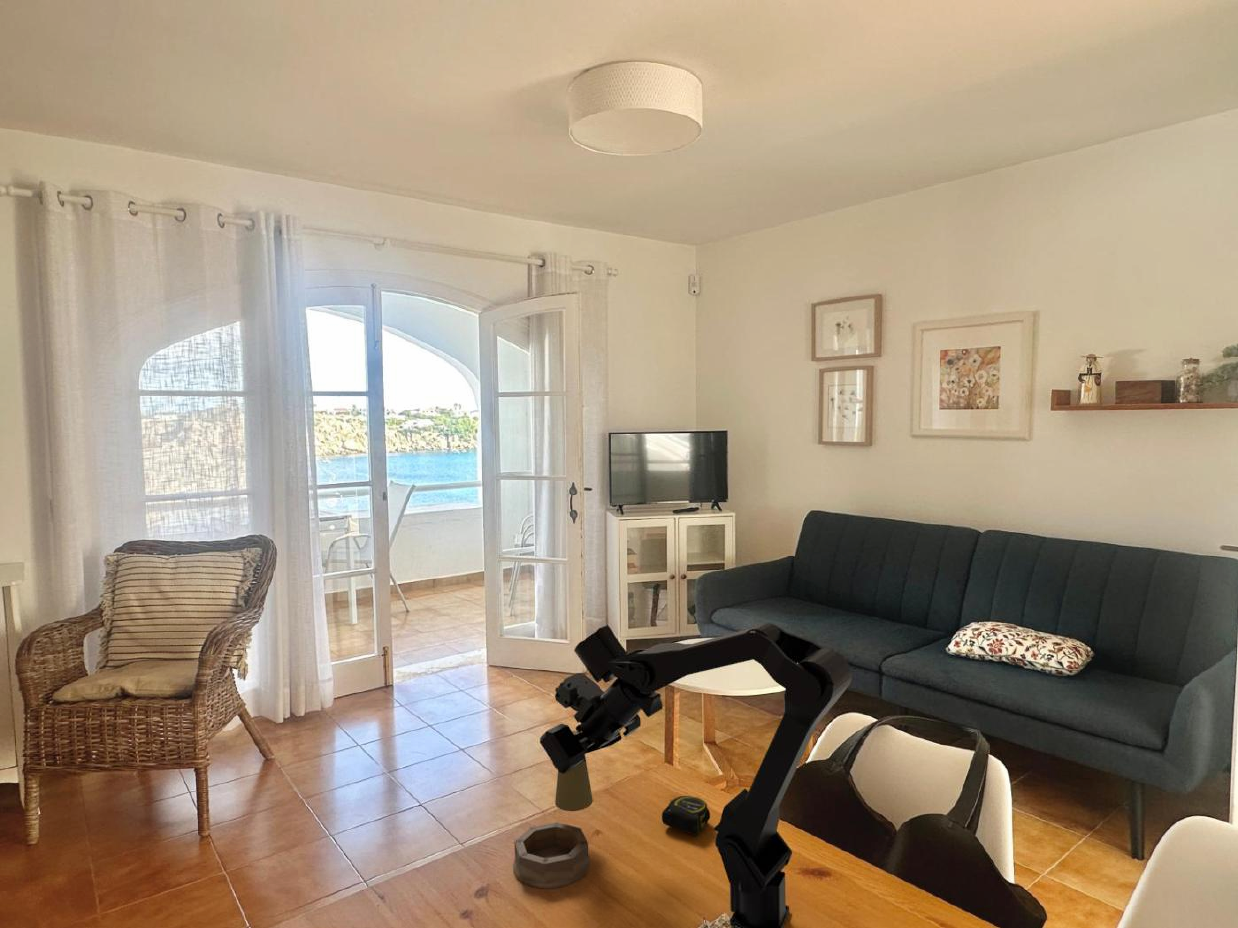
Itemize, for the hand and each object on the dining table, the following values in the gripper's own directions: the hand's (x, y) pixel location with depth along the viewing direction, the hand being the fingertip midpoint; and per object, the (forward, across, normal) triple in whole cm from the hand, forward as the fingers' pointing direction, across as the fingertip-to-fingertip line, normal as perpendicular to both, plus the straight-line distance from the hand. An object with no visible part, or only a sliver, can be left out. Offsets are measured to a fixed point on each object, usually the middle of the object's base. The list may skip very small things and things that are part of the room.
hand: (565, 759), depth 121 cm
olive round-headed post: (+4, 0, +6) cm, 7 cm away
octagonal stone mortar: (+8, +7, +11) cm, 15 cm away
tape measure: (0, -14, +20) cm, 24 cm away
